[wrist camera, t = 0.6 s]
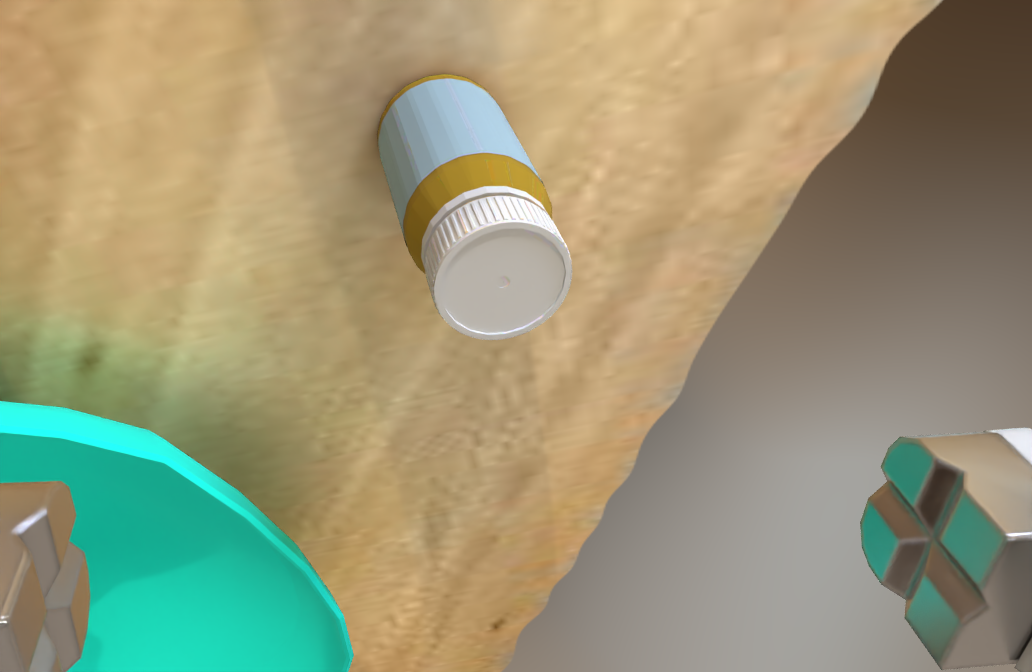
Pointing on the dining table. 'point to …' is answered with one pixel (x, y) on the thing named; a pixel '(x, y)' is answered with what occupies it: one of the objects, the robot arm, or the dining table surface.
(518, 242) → the bottle
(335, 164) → the dining table surface
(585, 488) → the dining table surface
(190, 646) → the table top decor
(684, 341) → the dining table surface
